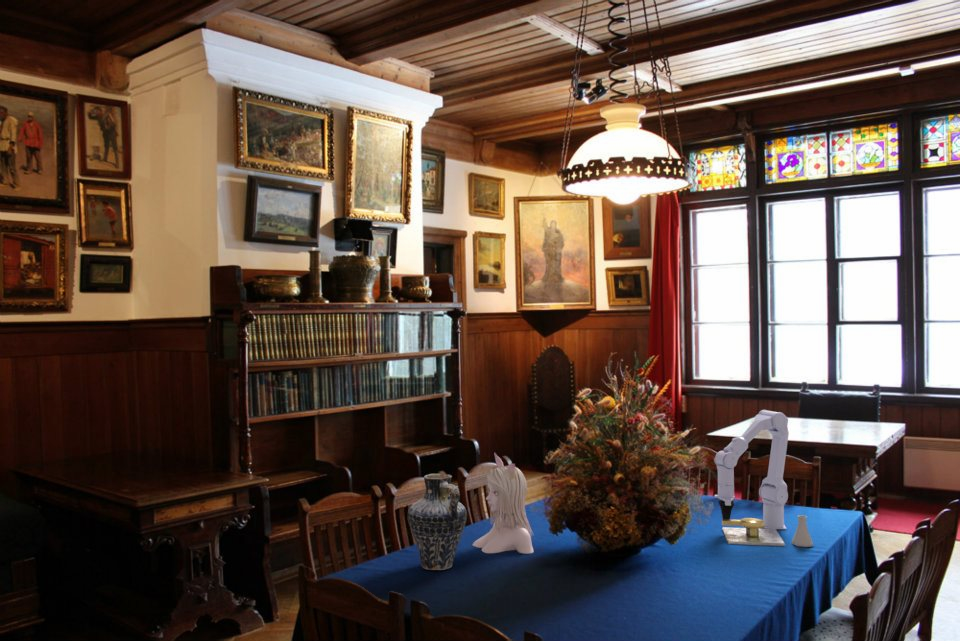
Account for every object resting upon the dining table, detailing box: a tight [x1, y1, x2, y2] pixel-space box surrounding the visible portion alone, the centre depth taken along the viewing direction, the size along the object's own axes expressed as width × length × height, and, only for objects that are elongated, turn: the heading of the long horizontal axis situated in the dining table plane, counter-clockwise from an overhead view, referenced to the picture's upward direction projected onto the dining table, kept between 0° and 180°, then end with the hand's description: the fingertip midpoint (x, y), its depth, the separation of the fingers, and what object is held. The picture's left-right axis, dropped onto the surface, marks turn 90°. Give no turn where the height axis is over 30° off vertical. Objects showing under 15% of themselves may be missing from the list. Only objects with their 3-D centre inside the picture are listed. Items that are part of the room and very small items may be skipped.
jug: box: [407, 472, 468, 571], centre depth 258 cm, size 21×19×30 cm
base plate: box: [722, 526, 786, 547], centre depth 284 cm, size 18×19×4 cm
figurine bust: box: [472, 452, 535, 555], centre depth 281 cm, size 26×20×32 cm
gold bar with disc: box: [721, 517, 765, 537], centre depth 285 cm, size 15×8×5 cm, turn 79°
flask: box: [791, 514, 814, 548], centre depth 275 cm, size 7×7×10 cm
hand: (726, 520), depth 291 cm, fingers closed
